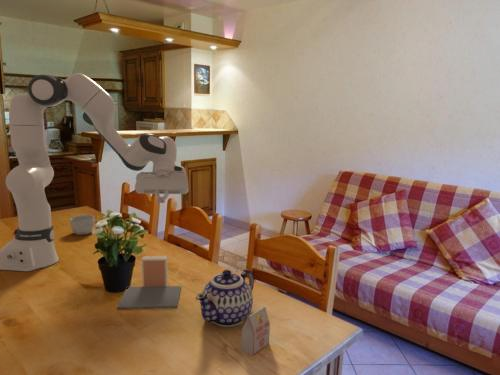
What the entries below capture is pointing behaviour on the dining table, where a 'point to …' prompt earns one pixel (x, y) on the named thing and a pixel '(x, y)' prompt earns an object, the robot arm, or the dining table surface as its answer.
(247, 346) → the grey gable-top carton
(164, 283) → the ceramic tile
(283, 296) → the dining table surface
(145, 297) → the slate mat
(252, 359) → the dining table surface
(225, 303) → the teapot
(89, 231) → the teacup
